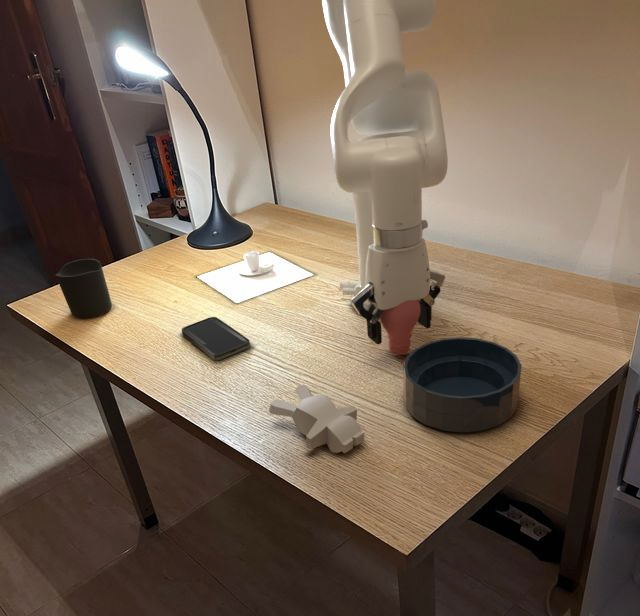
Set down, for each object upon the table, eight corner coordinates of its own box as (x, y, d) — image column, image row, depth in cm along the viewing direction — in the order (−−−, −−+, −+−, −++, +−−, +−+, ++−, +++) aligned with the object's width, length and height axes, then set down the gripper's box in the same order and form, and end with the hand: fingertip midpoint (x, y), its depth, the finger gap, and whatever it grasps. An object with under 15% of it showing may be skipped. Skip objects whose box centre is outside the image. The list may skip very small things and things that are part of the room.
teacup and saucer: (280, 270, 146) (277, 253, 143) (250, 281, 143) (247, 264, 140) (261, 260, 152) (258, 244, 149) (232, 270, 149) (229, 254, 146)
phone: (214, 315, 127) (251, 341, 117) (215, 320, 128) (252, 346, 118) (178, 329, 124) (214, 356, 114) (180, 334, 125) (215, 361, 114)
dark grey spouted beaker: (122, 307, 138) (108, 264, 132) (84, 324, 133) (68, 280, 127) (100, 297, 143) (86, 255, 137) (62, 314, 138) (46, 271, 132)
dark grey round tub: (394, 428, 94) (393, 392, 90) (415, 368, 106) (415, 334, 103) (513, 440, 89) (517, 403, 85) (520, 376, 102) (524, 341, 98)
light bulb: (409, 367, 107) (409, 302, 100) (372, 359, 110) (369, 296, 103) (427, 348, 112) (427, 284, 104) (391, 340, 115) (389, 278, 108)
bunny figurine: (330, 446, 85) (260, 396, 94) (330, 473, 89) (263, 422, 97) (378, 415, 90) (307, 370, 98) (376, 441, 93) (308, 395, 102)
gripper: (430, 216, 103) (430, 312, 113) (337, 241, 98) (345, 339, 108) (457, 228, 98) (455, 327, 108) (360, 254, 93) (366, 356, 102)
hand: (400, 333), depth 108 cm, fingers open, 9 cm apart
